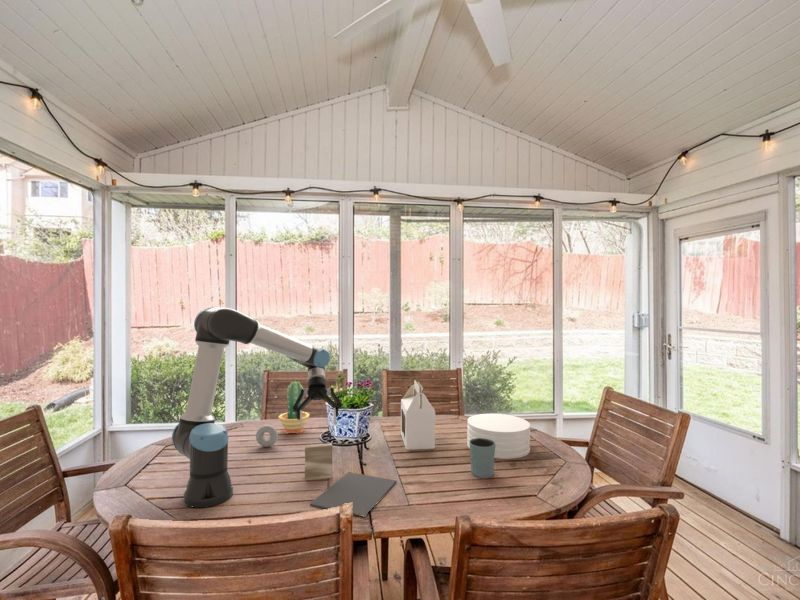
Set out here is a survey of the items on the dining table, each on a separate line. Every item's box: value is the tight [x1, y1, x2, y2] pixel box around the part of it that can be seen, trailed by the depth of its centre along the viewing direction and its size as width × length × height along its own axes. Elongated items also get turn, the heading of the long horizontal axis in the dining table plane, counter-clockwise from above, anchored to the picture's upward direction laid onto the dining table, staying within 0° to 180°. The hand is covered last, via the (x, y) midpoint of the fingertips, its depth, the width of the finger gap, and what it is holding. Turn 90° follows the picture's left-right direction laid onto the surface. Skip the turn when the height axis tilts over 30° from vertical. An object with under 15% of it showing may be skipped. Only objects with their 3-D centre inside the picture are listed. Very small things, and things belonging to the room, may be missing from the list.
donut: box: [255, 424, 279, 448], centre depth 183 cm, size 10×4×10 cm, turn 89°
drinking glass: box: [469, 438, 496, 479], centre depth 156 cm, size 10×10×12 cm
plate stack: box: [466, 413, 531, 460], centre depth 184 cm, size 28×28×12 cm
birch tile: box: [304, 442, 333, 481], centre depth 152 cm, size 3×10×12 cm, turn 104°
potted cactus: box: [278, 380, 310, 434], centre depth 205 cm, size 15×15×25 cm
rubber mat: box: [309, 471, 397, 516], centre depth 139 cm, size 26×20×1 cm
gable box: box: [400, 379, 436, 451], centre depth 191 cm, size 22×13×28 cm, turn 6°
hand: (318, 425), depth 162 cm, fingers open, 13 cm apart
